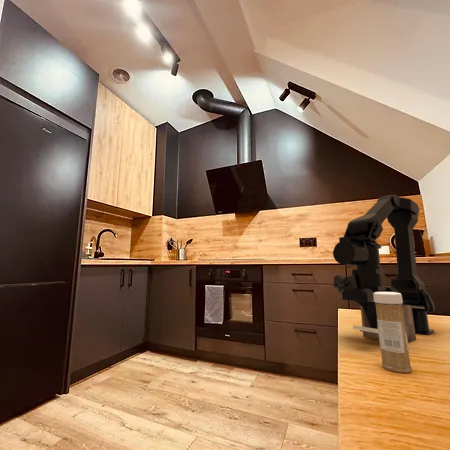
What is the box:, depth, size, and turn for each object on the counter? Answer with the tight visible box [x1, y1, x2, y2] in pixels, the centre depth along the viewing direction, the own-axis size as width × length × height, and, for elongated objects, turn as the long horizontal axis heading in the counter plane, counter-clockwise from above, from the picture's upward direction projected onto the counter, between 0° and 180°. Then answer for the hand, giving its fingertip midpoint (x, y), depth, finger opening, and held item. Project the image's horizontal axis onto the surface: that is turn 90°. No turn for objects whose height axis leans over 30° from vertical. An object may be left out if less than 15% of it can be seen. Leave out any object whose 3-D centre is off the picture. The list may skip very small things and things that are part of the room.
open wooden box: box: [359, 304, 417, 344], centre depth 66 cm, size 8×10×8 cm
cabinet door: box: [352, 324, 379, 335], centre depth 62 cm, size 1×8×7 cm
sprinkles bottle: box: [374, 292, 413, 374], centre depth 46 cm, size 5×5×13 cm
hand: (374, 328), depth 62 cm, fingers closed, pressing on cabinet door
